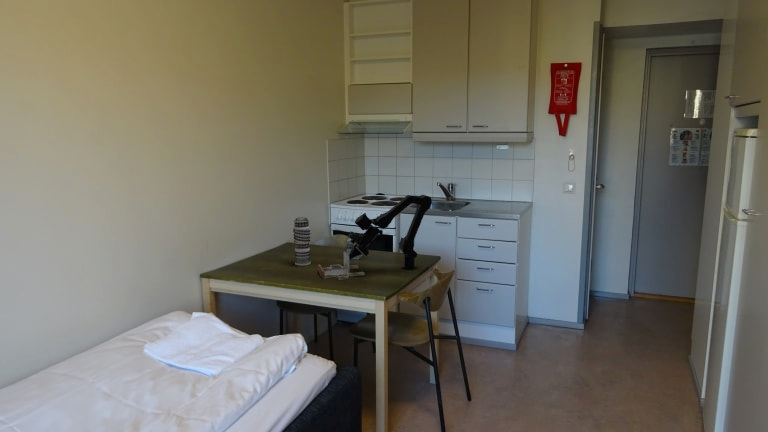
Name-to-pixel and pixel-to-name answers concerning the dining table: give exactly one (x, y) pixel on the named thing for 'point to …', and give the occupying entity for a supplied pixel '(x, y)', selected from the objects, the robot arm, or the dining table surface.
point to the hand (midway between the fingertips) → (347, 259)
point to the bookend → (341, 271)
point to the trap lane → (337, 267)
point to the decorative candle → (302, 241)
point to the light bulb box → (349, 247)
